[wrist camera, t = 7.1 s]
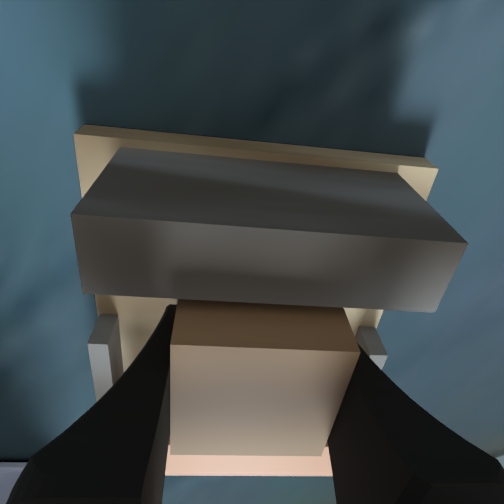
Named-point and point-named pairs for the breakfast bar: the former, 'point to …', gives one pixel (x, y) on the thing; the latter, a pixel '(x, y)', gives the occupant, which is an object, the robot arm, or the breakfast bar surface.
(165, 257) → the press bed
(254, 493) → the breakfast bar surface
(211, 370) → the block
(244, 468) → the block
